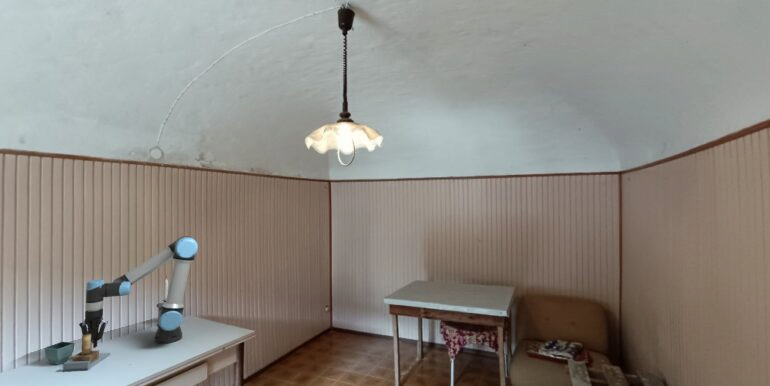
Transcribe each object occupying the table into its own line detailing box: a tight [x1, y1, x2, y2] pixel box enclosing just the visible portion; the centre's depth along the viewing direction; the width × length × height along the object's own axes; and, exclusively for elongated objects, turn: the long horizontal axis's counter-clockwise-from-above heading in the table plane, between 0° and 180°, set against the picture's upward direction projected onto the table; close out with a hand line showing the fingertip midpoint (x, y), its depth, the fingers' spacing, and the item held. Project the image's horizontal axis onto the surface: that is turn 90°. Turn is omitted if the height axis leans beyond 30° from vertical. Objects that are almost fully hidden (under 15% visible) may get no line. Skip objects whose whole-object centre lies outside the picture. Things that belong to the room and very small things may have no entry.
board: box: [62, 352, 111, 373], centre depth 189 cm, size 11×19×4 cm, turn 9°
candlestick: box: [156, 274, 169, 327], centre depth 250 cm, size 11×11×35 cm
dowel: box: [81, 334, 91, 356], centre depth 188 cm, size 4×4×13 cm
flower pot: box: [44, 341, 76, 365], centre depth 189 cm, size 9×9×9 cm
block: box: [71, 349, 100, 364], centre depth 188 cm, size 8×8×4 cm
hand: (92, 353), depth 193 cm, fingers closed
